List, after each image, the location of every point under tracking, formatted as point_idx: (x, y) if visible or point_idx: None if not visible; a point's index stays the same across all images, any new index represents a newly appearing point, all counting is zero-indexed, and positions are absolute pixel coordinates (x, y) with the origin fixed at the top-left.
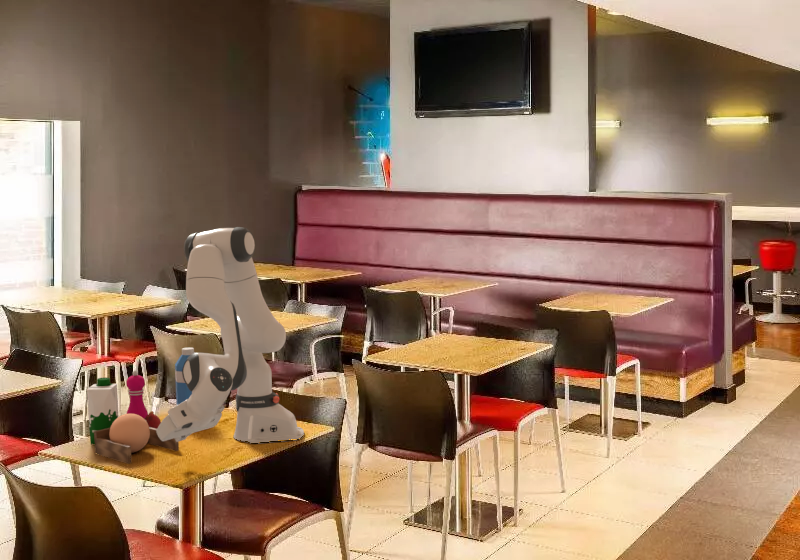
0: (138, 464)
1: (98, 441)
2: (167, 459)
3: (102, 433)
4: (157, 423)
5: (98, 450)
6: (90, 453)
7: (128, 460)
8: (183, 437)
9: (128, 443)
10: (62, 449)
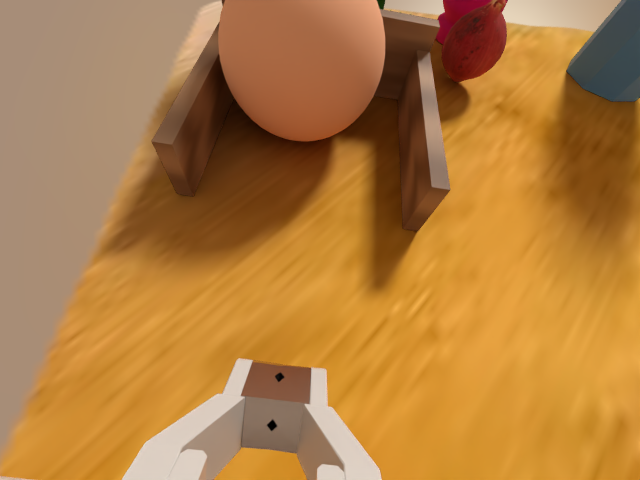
0: (184, 230)
1: None
2: (301, 282)
3: None
4: (483, 55)
5: None
6: None
7: (174, 186)
8: (276, 446)
9: (242, 106)
10: None
